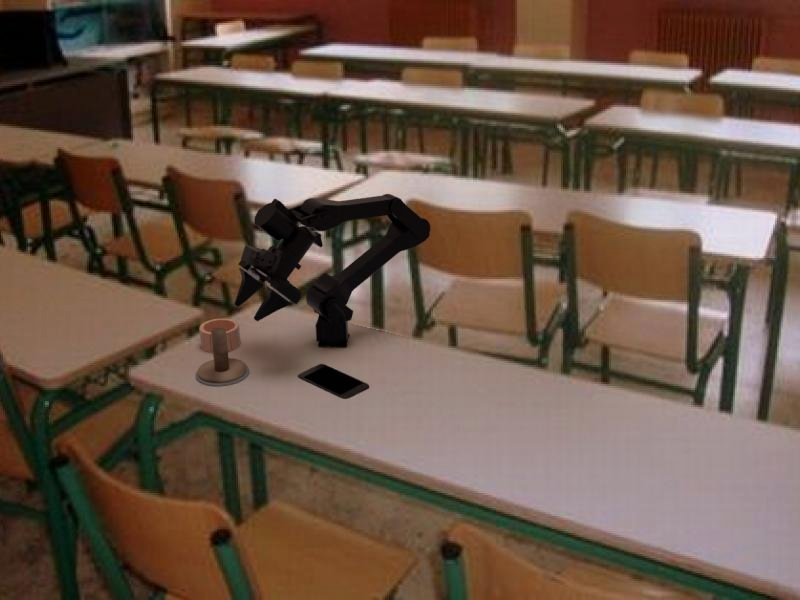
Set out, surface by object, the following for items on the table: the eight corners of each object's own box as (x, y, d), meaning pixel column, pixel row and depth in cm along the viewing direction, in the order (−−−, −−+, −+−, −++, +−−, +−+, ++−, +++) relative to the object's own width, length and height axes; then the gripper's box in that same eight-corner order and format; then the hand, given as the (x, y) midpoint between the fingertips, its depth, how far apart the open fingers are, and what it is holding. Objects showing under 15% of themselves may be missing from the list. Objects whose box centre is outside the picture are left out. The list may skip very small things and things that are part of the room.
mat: (253, 362, 205) (253, 360, 204) (243, 386, 194) (243, 384, 194) (202, 361, 205) (202, 360, 205) (190, 385, 195) (189, 384, 195)
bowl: (243, 336, 217) (241, 318, 215) (235, 353, 209) (234, 334, 207) (206, 336, 217) (204, 318, 215) (197, 352, 209) (195, 334, 207)
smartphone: (345, 401, 189) (345, 397, 188) (295, 378, 198) (295, 374, 198) (372, 388, 194) (371, 384, 193) (322, 366, 203) (321, 362, 203)
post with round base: (250, 361, 204) (247, 320, 200) (241, 383, 195) (237, 341, 191) (204, 361, 205) (200, 320, 201) (192, 383, 195) (188, 340, 192)
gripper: (243, 219, 202) (199, 279, 200) (284, 243, 187) (237, 308, 186) (279, 247, 209) (236, 305, 207) (321, 272, 194) (276, 335, 193)
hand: (245, 312), depth 198 cm, fingers open, 9 cm apart
